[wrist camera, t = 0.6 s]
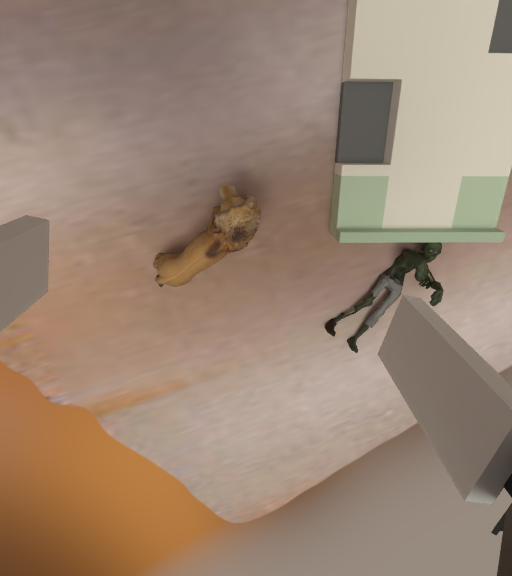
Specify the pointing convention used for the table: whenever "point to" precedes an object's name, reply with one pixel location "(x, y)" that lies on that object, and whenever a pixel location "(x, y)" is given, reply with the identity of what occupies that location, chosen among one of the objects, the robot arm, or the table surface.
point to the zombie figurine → (396, 286)
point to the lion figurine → (212, 239)
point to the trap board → (423, 121)
